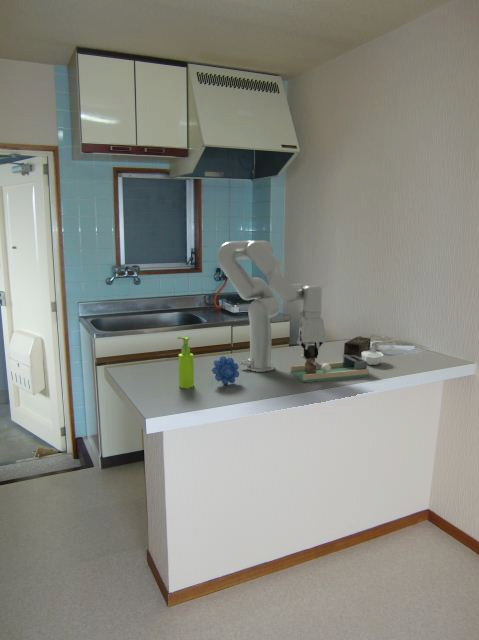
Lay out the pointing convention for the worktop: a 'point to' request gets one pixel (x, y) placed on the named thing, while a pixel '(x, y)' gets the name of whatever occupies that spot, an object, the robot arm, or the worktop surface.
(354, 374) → the pitch
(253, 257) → the robot arm
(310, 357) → the kicker
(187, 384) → the soap dispenser
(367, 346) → the beverage carton
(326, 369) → the ball
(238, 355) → the worktop surface
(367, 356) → the cell model
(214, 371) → the blue knobbed wheel
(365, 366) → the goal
